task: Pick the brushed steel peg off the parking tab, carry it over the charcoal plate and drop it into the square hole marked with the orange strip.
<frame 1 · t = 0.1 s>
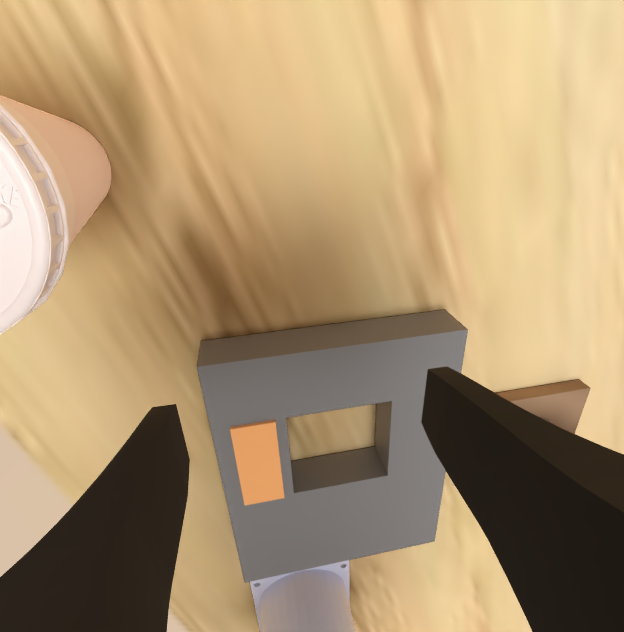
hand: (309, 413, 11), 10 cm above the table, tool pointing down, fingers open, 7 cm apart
parking tab: (516, 431, 28), on the table
smoothie: (65, 166, 16), on the table
hole plate: (332, 443, 26), on the table
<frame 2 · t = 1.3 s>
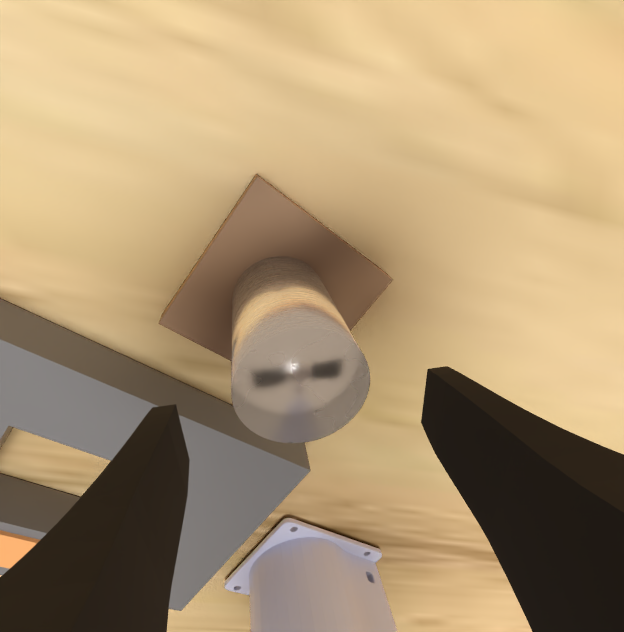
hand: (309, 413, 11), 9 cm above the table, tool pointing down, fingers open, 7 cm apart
parking tab: (277, 292, 19), on the table
steel peg: (279, 300, 18), point 1 cm above the table, touching parking tab
hole plate: (105, 464, 22), on the table
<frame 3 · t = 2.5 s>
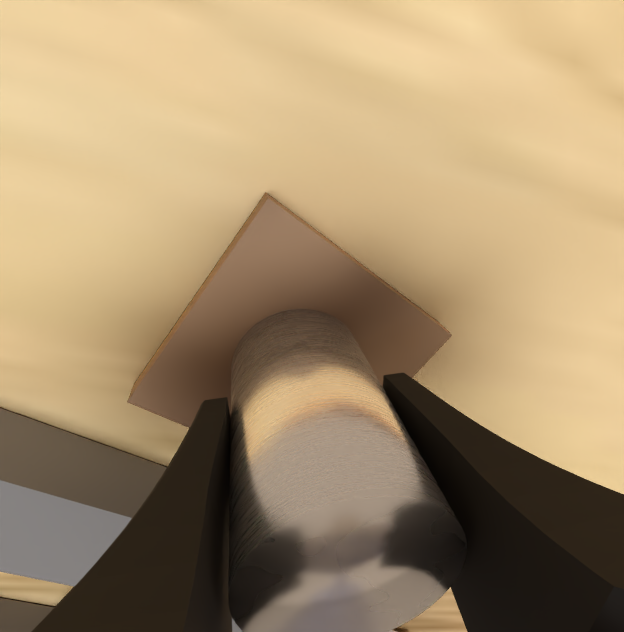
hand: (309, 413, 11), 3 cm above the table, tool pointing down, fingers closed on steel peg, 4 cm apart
parking tab: (293, 351, 14), on the table
steel peg: (296, 367, 13), point 1 cm above the table, touching gripper, parking tab
hole plate: (66, 565, 17), on the table
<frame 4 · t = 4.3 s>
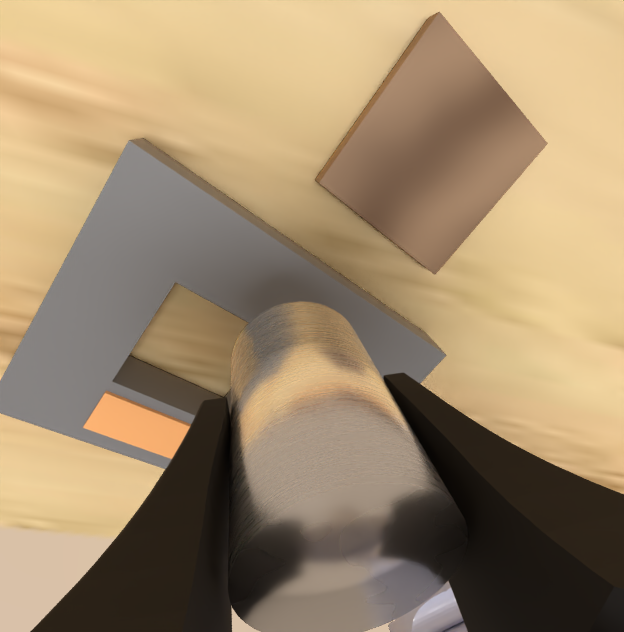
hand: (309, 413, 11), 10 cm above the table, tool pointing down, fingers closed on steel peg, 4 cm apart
parking tab: (427, 160, 19), on the table
steel peg: (297, 360, 13), point 8 cm above the table, touching gripper
hole plate: (236, 353, 22), on the table
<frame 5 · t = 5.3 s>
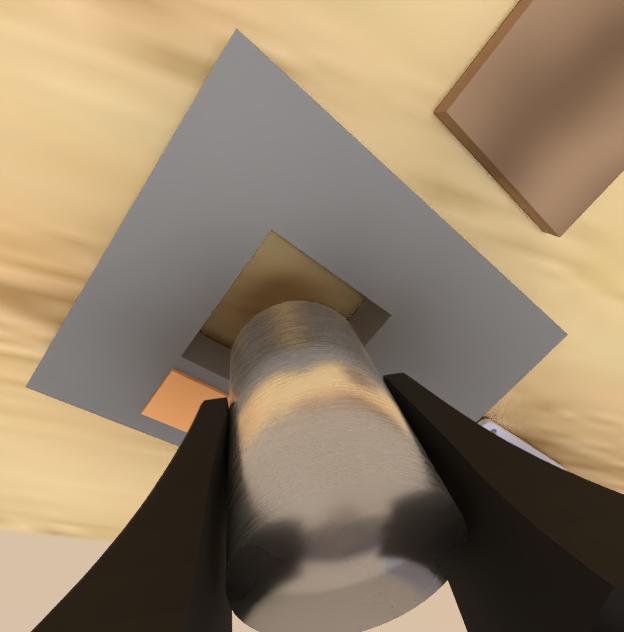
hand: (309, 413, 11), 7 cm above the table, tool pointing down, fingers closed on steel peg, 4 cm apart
parking tab: (566, 94, 15), on the table
steel peg: (296, 359, 13), point 5 cm above the table, touching gripper
hole plate: (316, 329, 18), on the table
when the fingers open (4 cm above the table, at t = 6.2 s): steel peg drops 2 cm, resting in hole plate.
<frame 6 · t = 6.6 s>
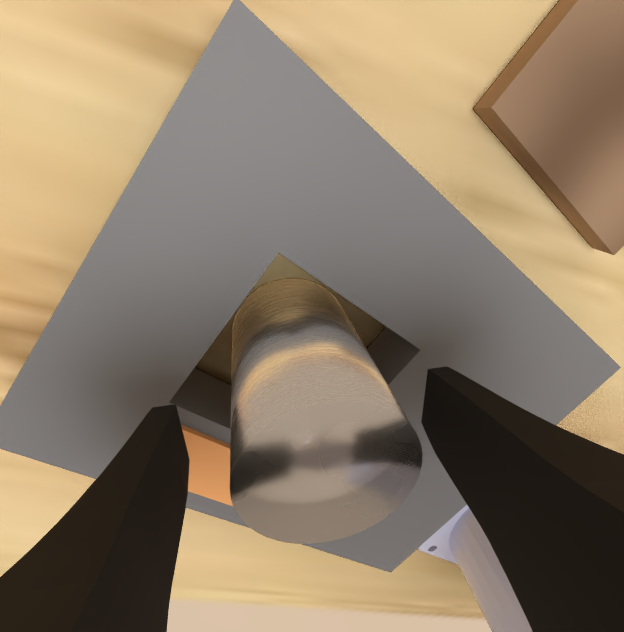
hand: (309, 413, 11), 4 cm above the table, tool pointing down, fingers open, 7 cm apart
steel peg: (290, 331, 15), resting in hole plate
hole plate: (328, 361, 16), on the table
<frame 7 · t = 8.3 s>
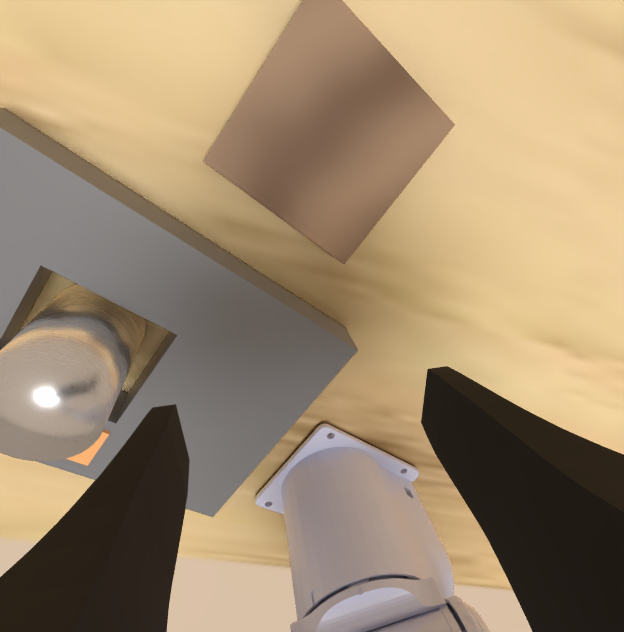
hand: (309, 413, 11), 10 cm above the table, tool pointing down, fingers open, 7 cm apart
parking tab: (328, 141, 18), on the table
steel peg: (99, 322, 19), resting in hole plate
hole plate: (137, 345, 20), on the table
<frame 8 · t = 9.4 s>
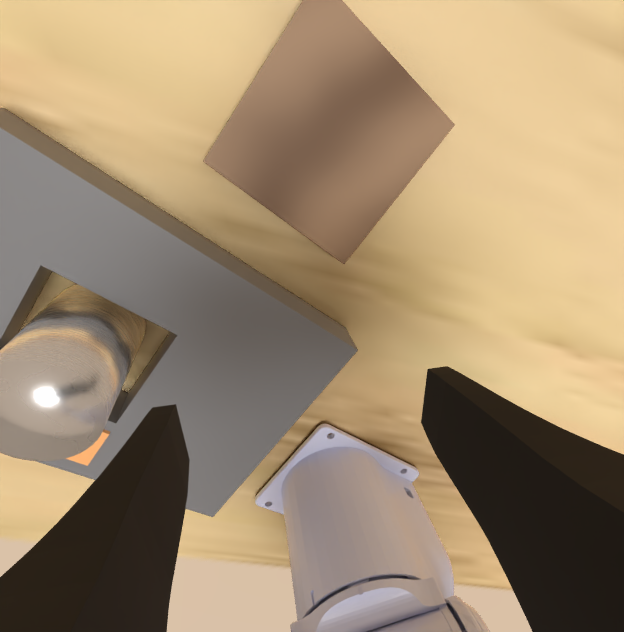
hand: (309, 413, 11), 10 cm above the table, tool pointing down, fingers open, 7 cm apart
parking tab: (328, 141, 18), on the table
steel peg: (99, 322, 19), resting in hole plate
hole plate: (137, 345, 20), on the table
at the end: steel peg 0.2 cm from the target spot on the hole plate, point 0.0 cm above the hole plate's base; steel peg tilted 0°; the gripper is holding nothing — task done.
